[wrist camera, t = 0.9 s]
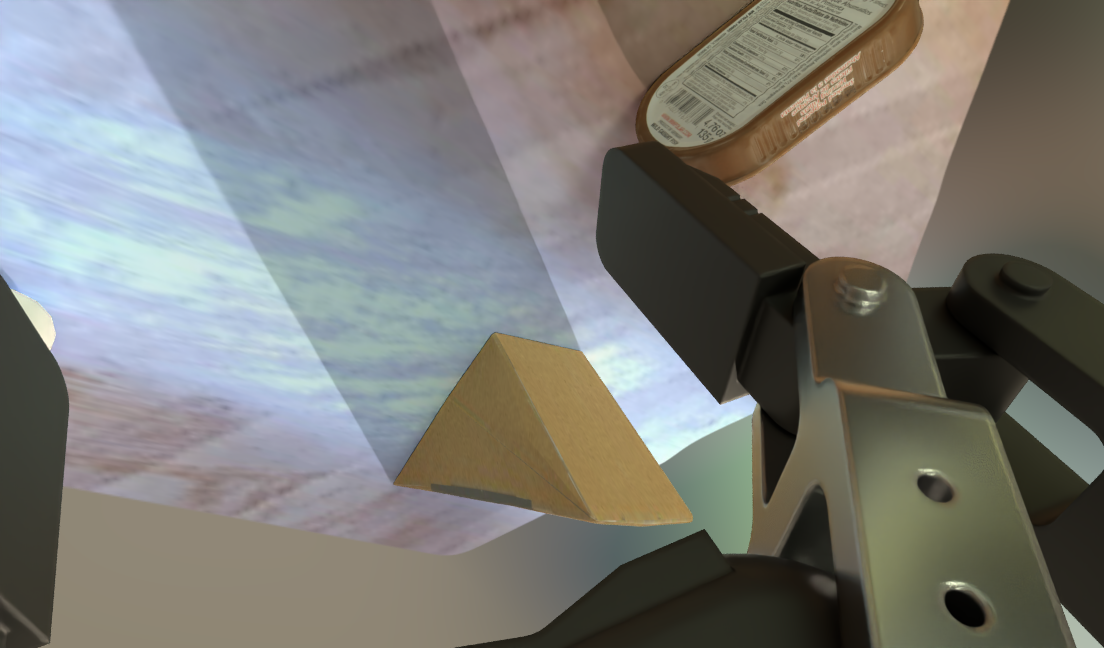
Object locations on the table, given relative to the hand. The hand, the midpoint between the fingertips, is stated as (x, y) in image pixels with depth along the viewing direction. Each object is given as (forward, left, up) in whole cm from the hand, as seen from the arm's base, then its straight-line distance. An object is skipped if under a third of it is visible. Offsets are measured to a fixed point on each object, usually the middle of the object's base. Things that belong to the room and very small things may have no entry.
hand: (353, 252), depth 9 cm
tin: (-9, +23, -22) cm, 33 cm away
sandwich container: (+20, +28, -22) cm, 41 cm away
